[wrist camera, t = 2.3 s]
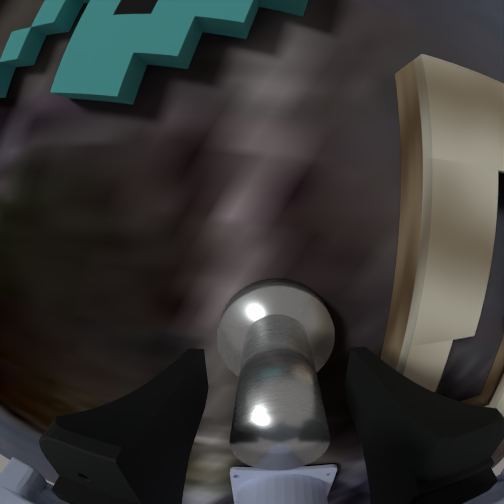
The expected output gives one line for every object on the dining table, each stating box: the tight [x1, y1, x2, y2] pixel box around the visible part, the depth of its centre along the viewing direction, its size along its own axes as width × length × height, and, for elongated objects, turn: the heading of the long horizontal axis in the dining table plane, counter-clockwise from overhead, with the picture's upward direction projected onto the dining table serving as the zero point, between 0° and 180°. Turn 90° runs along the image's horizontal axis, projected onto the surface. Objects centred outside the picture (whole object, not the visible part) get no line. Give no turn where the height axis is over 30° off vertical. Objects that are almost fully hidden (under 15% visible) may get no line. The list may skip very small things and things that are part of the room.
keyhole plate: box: [359, 54, 504, 450], centre depth 12 cm, size 22×12×3 cm, turn 1°
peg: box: [217, 278, 335, 471], centre depth 11 cm, size 6×6×8 cm
